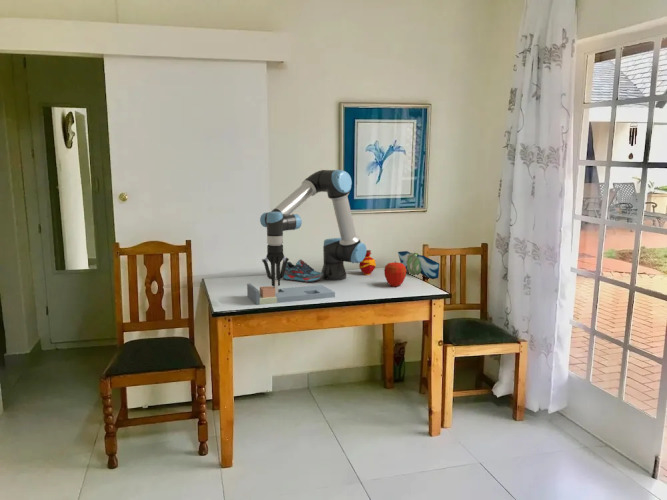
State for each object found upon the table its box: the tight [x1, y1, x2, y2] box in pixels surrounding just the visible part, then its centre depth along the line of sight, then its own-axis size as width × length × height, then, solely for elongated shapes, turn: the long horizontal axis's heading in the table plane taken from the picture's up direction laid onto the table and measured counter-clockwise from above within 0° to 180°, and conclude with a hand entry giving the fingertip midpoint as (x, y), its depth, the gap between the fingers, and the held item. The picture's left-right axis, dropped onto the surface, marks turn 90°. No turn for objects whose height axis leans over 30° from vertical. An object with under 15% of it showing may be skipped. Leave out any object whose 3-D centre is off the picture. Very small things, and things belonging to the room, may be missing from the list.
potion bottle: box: [358, 249, 377, 276], centre depth 319 cm, size 10×10×15 cm
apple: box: [383, 260, 408, 288], centre depth 290 cm, size 12×12×14 cm
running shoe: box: [282, 259, 324, 283], centre depth 303 cm, size 10×25×12 cm, turn 70°
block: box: [259, 285, 275, 298], centre depth 258 cm, size 6×6×4 cm
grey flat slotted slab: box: [246, 282, 336, 306], centre depth 266 cm, size 40×18×6 cm, turn 113°
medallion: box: [397, 250, 440, 280], centre depth 318 cm, size 45×5×14 cm, turn 24°
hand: (275, 292), depth 258 cm, fingers closed
